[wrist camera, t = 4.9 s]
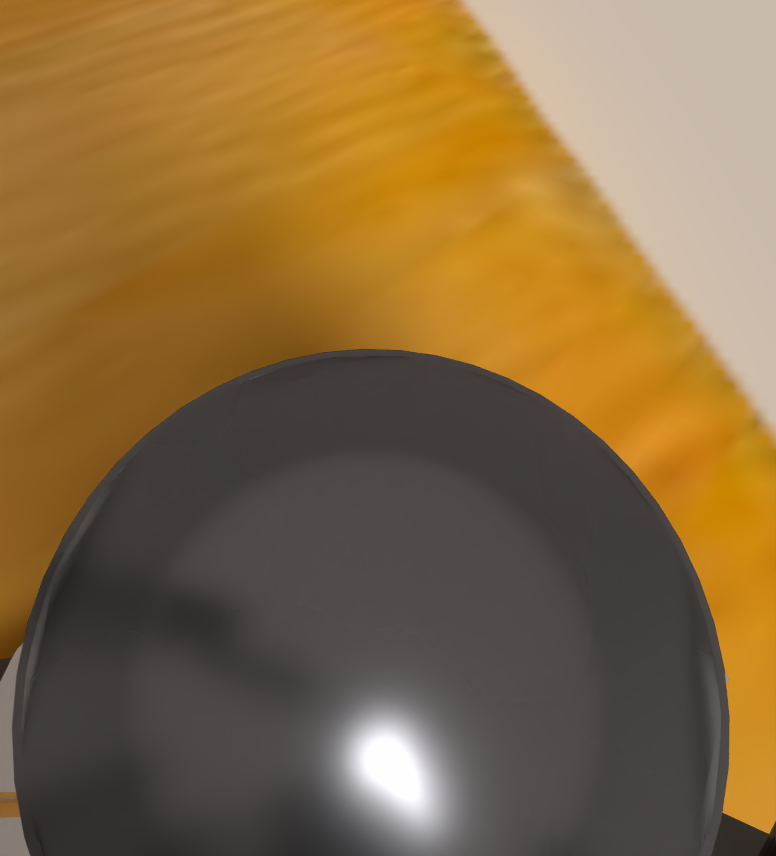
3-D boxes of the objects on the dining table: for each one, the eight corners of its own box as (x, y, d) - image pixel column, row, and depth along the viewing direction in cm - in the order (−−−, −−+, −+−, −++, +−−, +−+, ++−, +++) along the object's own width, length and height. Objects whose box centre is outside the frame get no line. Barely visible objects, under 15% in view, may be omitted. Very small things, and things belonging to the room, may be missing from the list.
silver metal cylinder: (230, 695, 16) (-99, 550, 4) (365, 603, 18) (453, 264, 5) (316, 852, 15) (250, 1406, 3) (456, 741, 16) (874, 746, 4)
